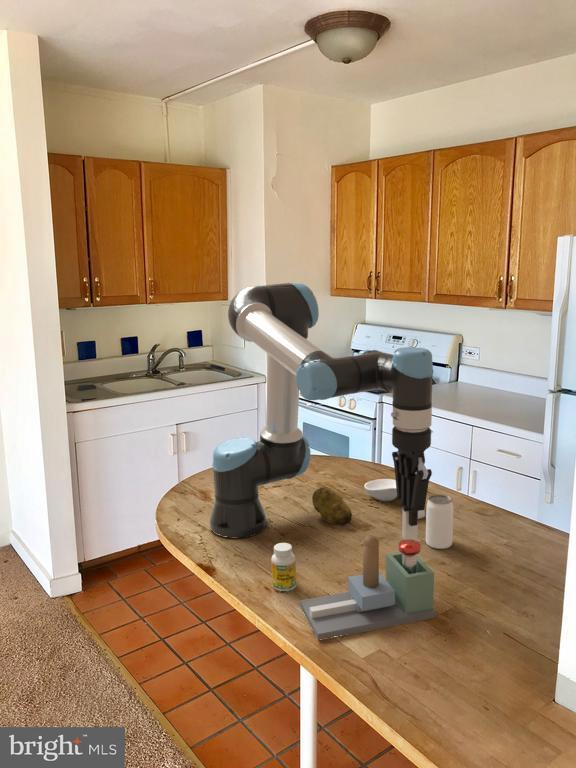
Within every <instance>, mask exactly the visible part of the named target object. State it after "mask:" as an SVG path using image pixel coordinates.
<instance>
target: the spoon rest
mask: <svg viewBox="0 0 576 768" xmlns="http://www.w3.org/2000/svg"><path fill="white" fill-rule="evenodd" d="M364 490H365V491H366V493H368V495H370V496H371V497H373V498H375V499H376V500H377V501H382V502H390V501H394V500H395V499H396V498H397V490H396V479H394V478H393V479H392V478H379V479H374V480H370V481H367V482H366V483H365V484H364ZM397 499H398V498H397ZM425 511H426V510H425V509H424V510H421V511H418V520H420V519H423V518H425V517H426V512H425Z"/></svg>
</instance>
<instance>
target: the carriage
mask: <svg viewBox="0 0 576 768" xmlns="http://www.w3.org/2000/svg"><path fill="white" fill-rule="evenodd" d="M379 542H380V541H379V539H378V538H377V537H376V536H374V535H371V534H370V535H367V536H365V537H364V539H363V541H362V574H358V575H352V576H347V592H350V594H351V600H352V599H354V600H355V601H356V602H357V611H358V612H363V611H369V610H374V609H379V608H385V607H390V606H391V605H395V591H394V589H393V588H392V587H391V586H390V585H389V583H388V582H387V581H386V577H384V576H383V575H382V574H381V572H380V569H379V568H380V567H379V566H380V543H379Z"/></svg>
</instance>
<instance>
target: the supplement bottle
mask: <svg viewBox="0 0 576 768" xmlns="http://www.w3.org/2000/svg"><path fill="white" fill-rule="evenodd" d="M270 561H271V582H272V584H271V585H272V588H273V587H274V588H275V589H277V590H280V591H279V592H281V591H287V592H290V591H289V590H291V591H292V590H295V588H296V587H297V570H296V569H297V563H296V556H295V554H294V553H293V546H292V544H290V543H287V542H279V543H277V544H275V545H274V546H273V554H272V556H271V560H270ZM274 588H273V589H274ZM275 589H274V590H275ZM277 590H276V591H277Z"/></svg>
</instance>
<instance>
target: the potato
mask: <svg viewBox="0 0 576 768" xmlns="http://www.w3.org/2000/svg"><path fill="white" fill-rule="evenodd" d="M311 499H312V502H311V503H312V505H313V507H314V509H315V511H316V512H317V513H318V514H320V517H321V518H322V519H323V521H325V522H327V523H328V524H333V525H336V526H337V525H339V526H340V525H341V526H343V525H346V524H349V523H350V522H351V520H352V517H353V513H352V511H351V509H350V507H349V505H348V504H347V503H346V501H345V500H344V498H343V497H342V496H341V495H339V493H337V492H336V491H335V490H334V489H333V488H331V487H326V486H325V487H320V488H318V489H316V490H315V491H313V493H312V497H311Z"/></svg>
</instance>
